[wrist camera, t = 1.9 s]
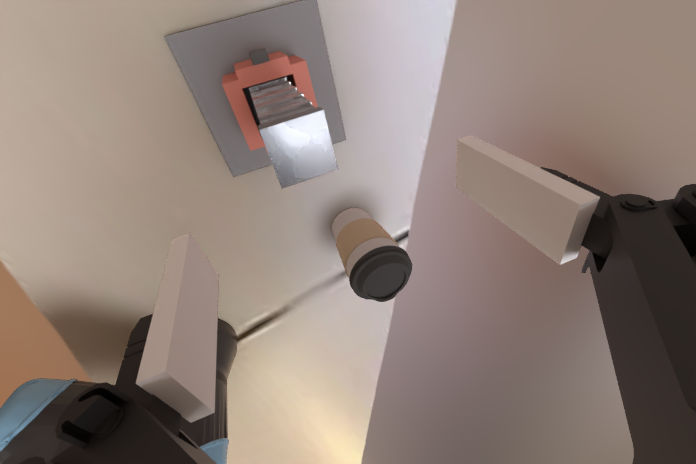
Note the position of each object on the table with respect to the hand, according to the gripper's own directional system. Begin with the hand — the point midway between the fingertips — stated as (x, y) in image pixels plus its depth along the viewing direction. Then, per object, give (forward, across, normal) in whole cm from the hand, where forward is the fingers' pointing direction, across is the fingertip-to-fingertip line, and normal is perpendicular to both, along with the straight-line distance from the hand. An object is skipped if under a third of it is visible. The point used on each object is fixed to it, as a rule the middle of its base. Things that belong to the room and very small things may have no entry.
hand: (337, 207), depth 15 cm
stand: (+29, 0, 0) cm, 29 cm away
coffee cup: (+29, +6, -23) cm, 37 cm away
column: (+27, 0, 0) cm, 27 cm away
